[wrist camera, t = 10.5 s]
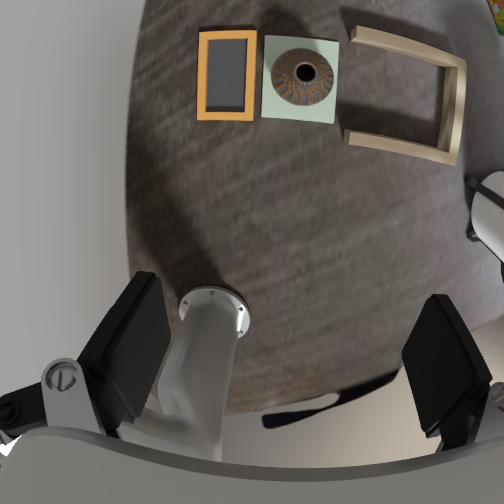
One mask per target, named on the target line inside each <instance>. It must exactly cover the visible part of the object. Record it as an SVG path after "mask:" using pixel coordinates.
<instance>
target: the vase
mask: <svg viewBox="0 0 504 504" xmlns="http://www.w3.org/2000/svg"><path fill="white" fill-rule="evenodd" d="M271 82H272V85H273V88H274V90H275V91H276V93H277V94H278V95H279V96H280V97H281V98H282V99H283V100H285V101H287V102H288V103H291V104H293V105H297V106H310V105H314V104H317V103H319V102H321V101H322V100H324V99H325V98H326V97H327V96H328V95H329V93H330V92H331V90H332V87H333V84H334V73H333V70H332V67H331V65H330V63H329V62H328V61H327V59H326V58H325V57H324V56H322V55H321V54H320V53H318V52H316V51H314V50H311V49H307V48H295V49H291V50H288V51H286V52H284V53H282V54H281V55H280V56H279V57H278V58H277V59H276V60H275V62H274V64H273V66H272V69H271Z"/></svg>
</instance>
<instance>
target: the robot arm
mask: <svg viewBox="0 0 504 504" xmlns="http://www.w3.org/2000/svg"><path fill="white" fill-rule="evenodd" d="M179 314H180V317H181V320H182V324H181V326H180V329H179V331H178V333H177V336H176V338H175V341H174V343H173V346H172V348H171V351H170V353H169V356H168V359H167V361H166V364H165V366H164V369H163V371H162V374H161V377H160V380H159V383H158V396H159V400H160V403H161V406H162V408H163V411H164V413H165V414H162V413H157V412H155V411H152V410H150V409H147V408H145V407H144V406H145V403H146V401H147V398H148V396H149V393H150V390H151V388H152V385H153V383H154V380H155V378H156V375H157V373H158V370H159V368H160V365H161V363H162V360H163V358H164V355H165V353H166V350H167V348H168V346H169V343H170V339H171V332H170V327H169V323H168V317H167V312H166V307H165V302H164V296H163V290H162V284H161V279H160V278H159V277H156V274H155V273H154V272H145V271H138V272H137V273H136V274H135V276H134V277H133V278H132V280H131V281H130V282H129V284H128V285H127V287H126V288H125V289H124V291H123V292H122V294H121V295H120V297H119V298H118V299H117V301H116V303H115V304H114V305H113V306H112V307H111V308H110V310H109V311H108V313H107V314H106V315H105V317H104V318H103V320H102V321H101V323H100V324H99V326H98V327H97V329H96V331H95V332H94V334H93V335H92V337H91V338H90V340H89V341H88V343H87V345H86V346H85V348H84V349H83V351H82V352H81V354H80V356H79V357H78V359H77V360H76V361H75V360H73V359H70V358H60V359H57V360H55V361H52V362H51V363H50V364H49V365H47V367H46V368H45V369H44V371H43V374H42V376H41V382H39V383H36V384H34V385H30V386H28V387H25V388H22V389H19V390H16V391H14V392H11V393H8V394H5V395H3V396H2V397H0V504H504V383H503V382H497V383H494V384H493V385H492V386H490V384H489V383H490V381H491V380H492V379H493V378H492V375H491V373H490V371H489V369H488V367H487V365H486V363H485V360H484V359H483V356H482V354H481V353H480V351H479V349H478V347H477V345H476V343H475V341H474V339H473V337H472V335H471V334H470V332H469V330H468V328H467V326H466V325H465V323H464V321H463V320H462V318H461V316H460V314H459V313H458V311H457V309H456V308H455V306H454V304H453V303H452V301H451V300H450V298H449V296H448V295H446V294H432V295H431V297H430V298H428V299H427V300H426V302H425V304H424V307H423V309H422V311H421V313H420V315H419V317H418V320H417V322H416V324H415V326H414V328H413V330H412V332H411V334H410V336H409V338H408V340H407V342H406V344H405V346H404V347H403V350H402V360H403V363H404V367H405V370H406V373H407V376H408V380H409V383H410V387H411V390H412V394H413V397H414V401H415V405H416V409H417V412H418V416H419V420H420V424H421V428H422V430H423V431H424V432H425V434H426V438H432V437H437V436H439V435H441V442H440V444H439V446H438V448H437V450H436V452H435V453H434V454H430V455H426V456H421V457H416V458H411V459H406V460H400V461H394V462H387V463H379V464H371V465H362V466H351V467H337V468H276V467H261V466H248V465H238V464H230V463H222V447H221V446H222V445H221V437H222V436H221V435H222V422H223V414H224V408H225V402H226V397H227V391H228V386H229V381H230V376H231V371H232V366H233V360H234V355H235V350H236V345H237V340H238V338H240V337H241V336H243V335H244V334H245V333H246V331H247V330H248V328H249V325H250V317H251V315H250V311H249V308H248V306H247V305H246V303H245V302H244V301H243V300H242V299H241V298H240V297H239V296H238V295H236V294H235V293H233V292H232V291H230V290H227V289H225V288H222V287H218V286H200V287H196V288H194V289H191V290H190V291H188V292H187V293H186V294H185V295H184V297H183V298H182V300H181V303H180V305H179Z"/></svg>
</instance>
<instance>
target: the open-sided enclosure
mask: <svg viewBox="0 0 504 504" xmlns="http://www.w3.org/2000/svg"><path fill="white" fill-rule="evenodd" d="M350 42H355V43H360V44H365V45H369V46H374V47H378V48H382V49H386V50H390V51H394V52H397V53H401V54H404V55H408V56H411V57H414V58H417V59H420V60H423V61H426V62H429V63H432V64H435V65H438V66H440V67H443V68H445V80H444V95H443V106H442V116H441V124H440V132H439V139H438V145H437V148H435V147H432V146H428V145H424V144H420V143H416V142H411V141H407V140H403V139H398V138H393V137H388V136H383V135H378V134H373V133H367V132H361V131H355V130H349V129H344V136H343V140H344V141H345V142H347V143H348V144H352V145H358V146H364V147H370V148H376V149H382V150H387V151H392V152H397V153H402V154H407V155H412V156H416V157H421V158H425V159H429V160H433V161H437V162H441V163H445V164H449V165H452V166H456V161H457V156H458V150H459V144H460V138H461V131H462V123H463V114H464V104H465V92H466V72H467V61H466V60H463V59H461V58H459V57H457V56H454V55H452V54H449V53H447V52H444V51H442V50H439V49H437V48H434V47H431V46H429V45H426V44H423V43H420V42H417V41H414V40H411V39H408V38H405V37H401V36H398V35H394V34H391V33H387V32H383V31H379V30H375V29H371V28H366V27H362V26H356V27H355V28H353V29H352V30H351V31H350Z"/></svg>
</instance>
